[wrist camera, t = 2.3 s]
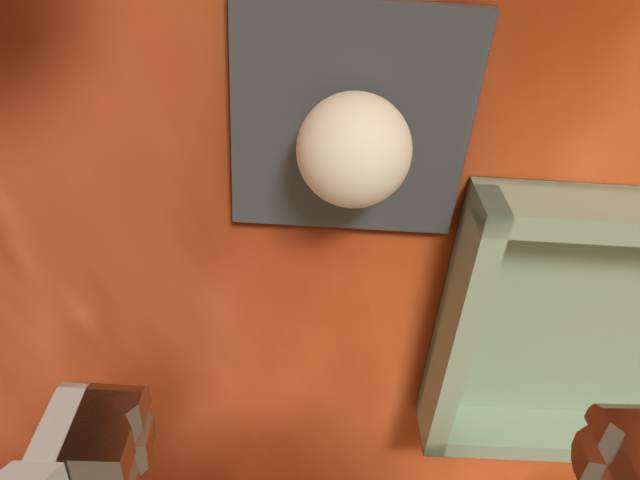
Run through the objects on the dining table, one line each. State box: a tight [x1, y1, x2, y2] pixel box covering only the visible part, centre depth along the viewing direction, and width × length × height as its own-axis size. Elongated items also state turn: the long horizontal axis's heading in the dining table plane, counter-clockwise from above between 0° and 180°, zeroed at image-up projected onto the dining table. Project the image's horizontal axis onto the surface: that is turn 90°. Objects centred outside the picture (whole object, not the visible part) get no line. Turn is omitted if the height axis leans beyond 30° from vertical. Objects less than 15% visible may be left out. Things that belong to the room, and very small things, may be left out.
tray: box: [416, 176, 640, 462], centre depth 27 cm, size 16×14×3 cm
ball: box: [296, 91, 413, 208], centre depth 20 cm, size 4×4×4 cm
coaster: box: [228, 0, 499, 234], centre depth 22 cm, size 9×9×1 cm
